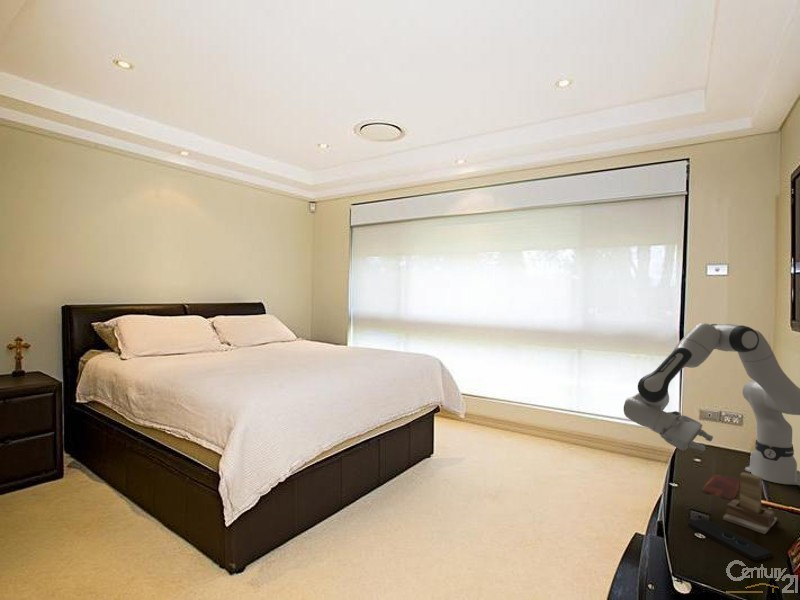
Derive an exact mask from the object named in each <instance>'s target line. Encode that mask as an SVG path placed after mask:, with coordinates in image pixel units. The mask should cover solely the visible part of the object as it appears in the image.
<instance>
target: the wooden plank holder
mask: <svg viewBox="0 0 800 600" xmlns="http://www.w3.org/2000/svg"><path fill="white" fill-rule="evenodd" d="M775 515H776V514H775V511H773V510H771V509H768V508H764V507H762V506H761V514H758V513H755V512H752V511H749V510H746V509H743V508H740V499H736V498H734V499H733V500H730V502H728V503H727V504H726V513H725V514H724V515H723V516H722V520H724V521H726V522H729V523H732V524H736V525H737V526H741V527H743V528H747V529H749V530H752V531H755V532H756V533H759V534H763V535H766V533H767V532H768V531H770V529H771V528H772V527H773V526H774V524H775V523H776V522H777V521H778V517H775Z"/></svg>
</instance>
